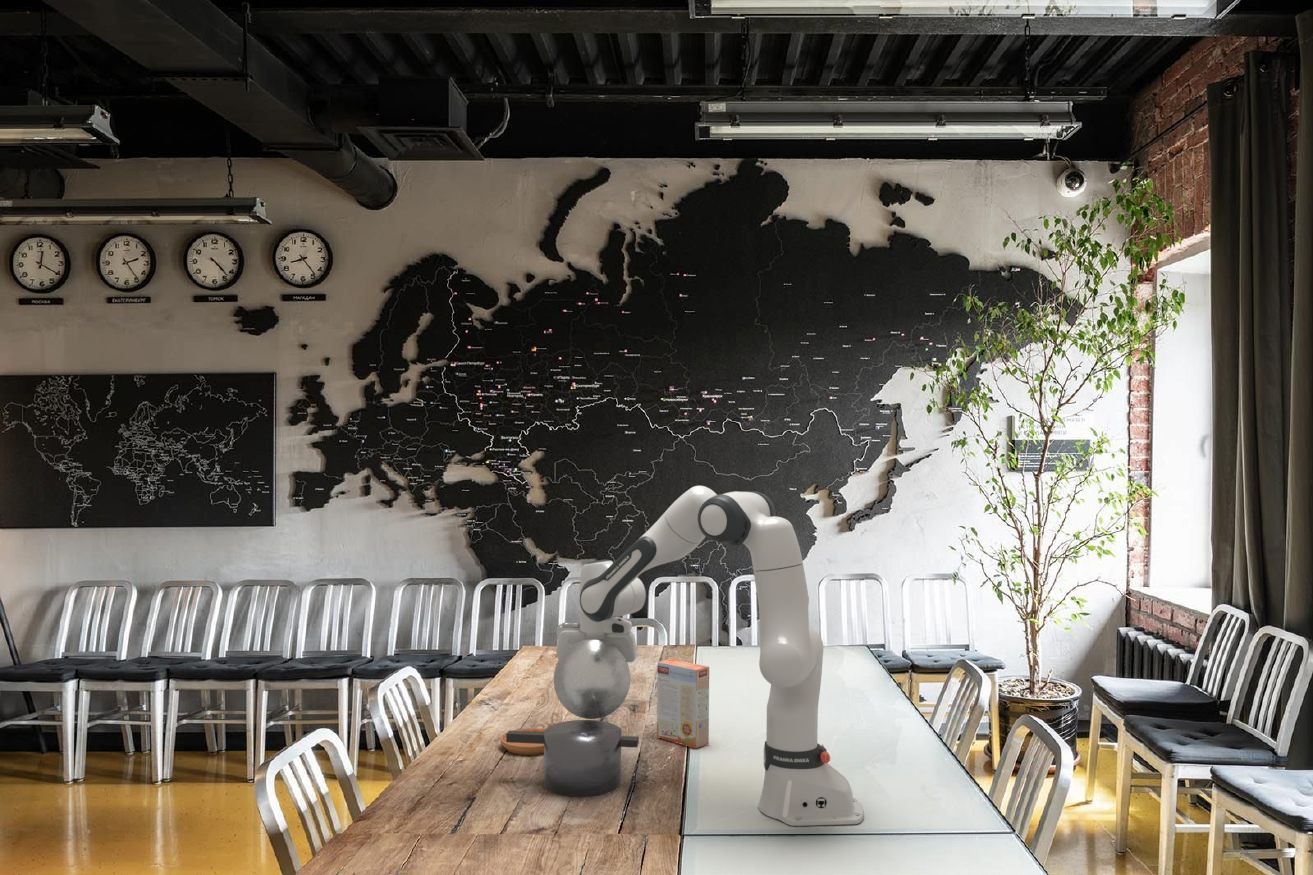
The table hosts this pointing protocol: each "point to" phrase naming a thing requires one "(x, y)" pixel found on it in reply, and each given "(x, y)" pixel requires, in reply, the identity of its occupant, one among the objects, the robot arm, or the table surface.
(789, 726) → the robot arm
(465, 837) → the table surface
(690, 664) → the cracker box
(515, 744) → the saucer
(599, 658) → the pot lid
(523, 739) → the cooking pot
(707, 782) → the table surface
